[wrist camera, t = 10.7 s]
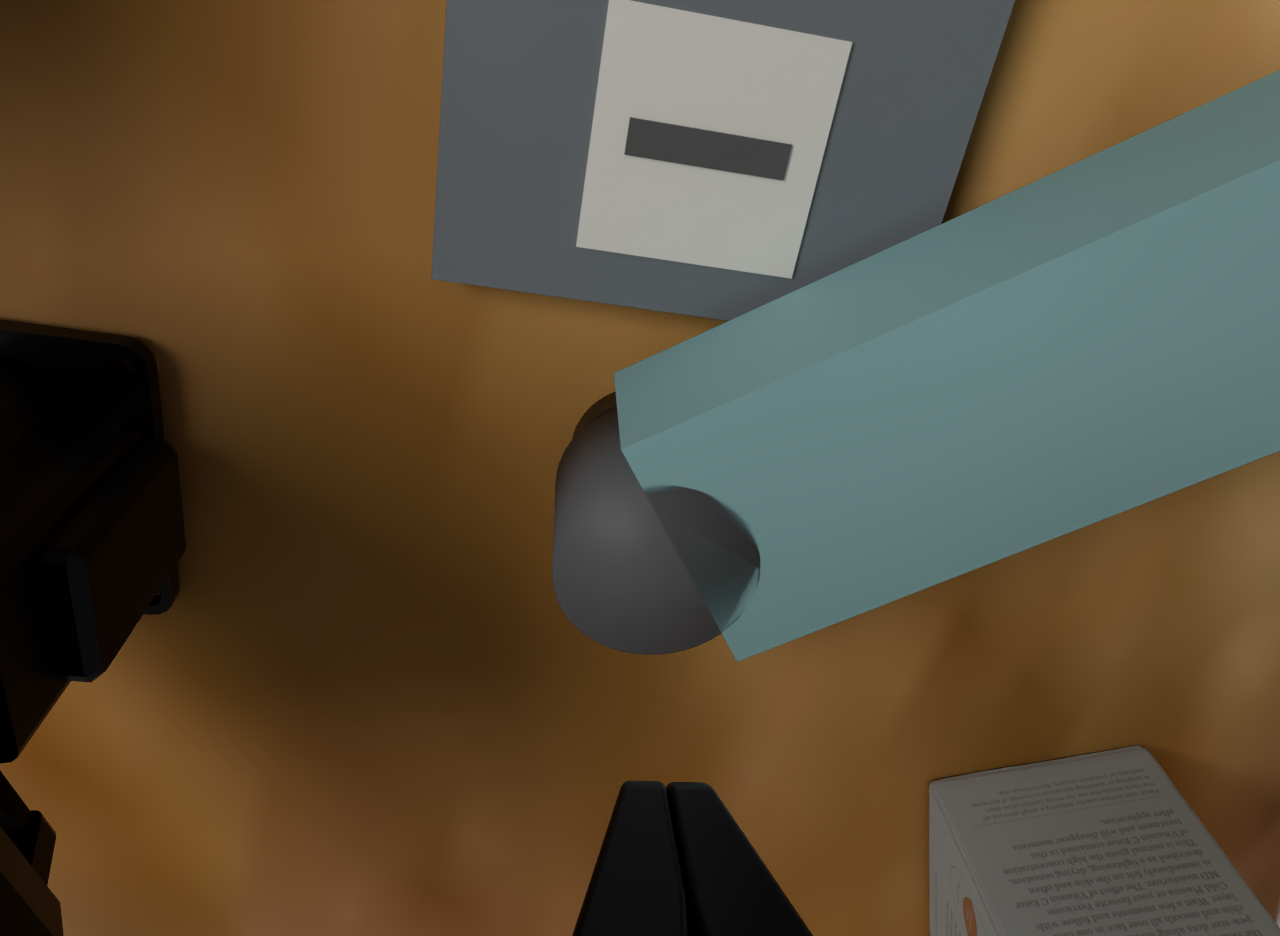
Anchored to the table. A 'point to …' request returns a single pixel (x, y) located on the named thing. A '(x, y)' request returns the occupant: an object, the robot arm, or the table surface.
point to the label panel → (699, 142)
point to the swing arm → (941, 399)
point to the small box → (1080, 855)
